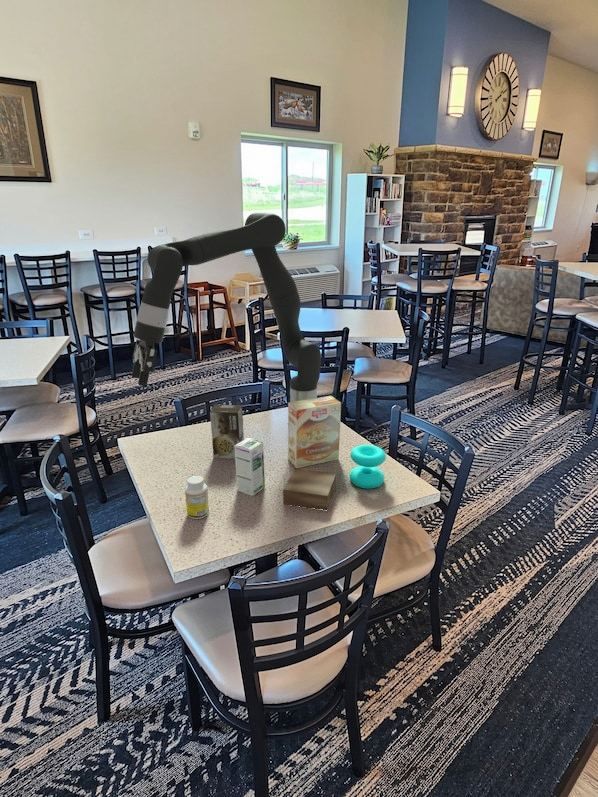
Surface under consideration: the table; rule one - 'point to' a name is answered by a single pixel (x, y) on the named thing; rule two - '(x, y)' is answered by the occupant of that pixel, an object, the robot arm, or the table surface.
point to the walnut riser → (309, 489)
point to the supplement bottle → (196, 498)
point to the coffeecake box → (313, 431)
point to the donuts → (367, 466)
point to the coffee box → (226, 430)
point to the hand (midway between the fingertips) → (138, 381)
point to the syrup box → (250, 466)
